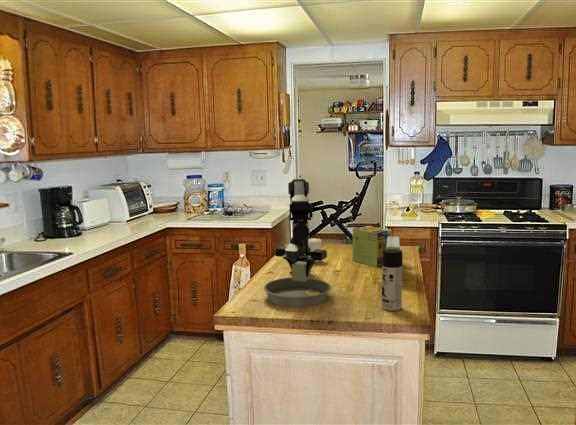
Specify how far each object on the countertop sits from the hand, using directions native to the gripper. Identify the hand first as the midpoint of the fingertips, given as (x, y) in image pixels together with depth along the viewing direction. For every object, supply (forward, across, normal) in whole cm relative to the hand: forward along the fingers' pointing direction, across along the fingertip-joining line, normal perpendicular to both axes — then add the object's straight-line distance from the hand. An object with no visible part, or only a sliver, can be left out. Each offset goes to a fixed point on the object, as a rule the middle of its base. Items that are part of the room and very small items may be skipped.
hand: (301, 275), depth 187 cm
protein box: (+8, +9, +58) cm, 59 cm away
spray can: (+8, +34, 0) cm, 35 cm away
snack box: (+8, +24, +38) cm, 46 cm away
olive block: (+1, 0, 0) cm, 1 cm away
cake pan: (+8, 0, -2) cm, 8 cm away
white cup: (+8, -17, +49) cm, 52 cm away
